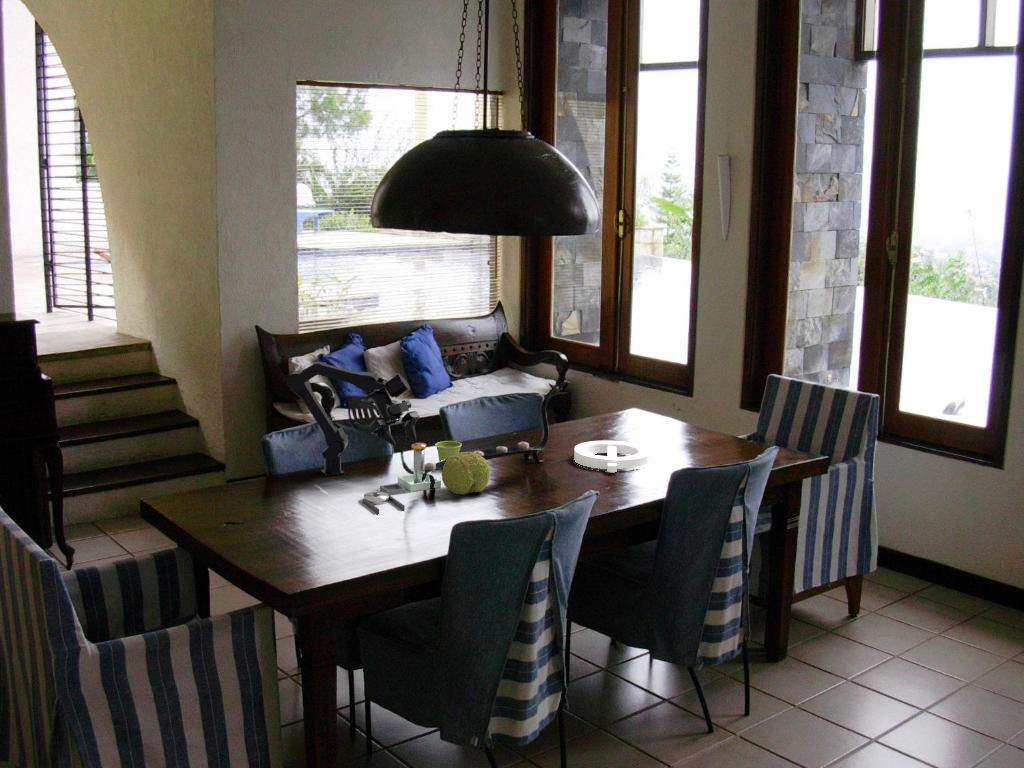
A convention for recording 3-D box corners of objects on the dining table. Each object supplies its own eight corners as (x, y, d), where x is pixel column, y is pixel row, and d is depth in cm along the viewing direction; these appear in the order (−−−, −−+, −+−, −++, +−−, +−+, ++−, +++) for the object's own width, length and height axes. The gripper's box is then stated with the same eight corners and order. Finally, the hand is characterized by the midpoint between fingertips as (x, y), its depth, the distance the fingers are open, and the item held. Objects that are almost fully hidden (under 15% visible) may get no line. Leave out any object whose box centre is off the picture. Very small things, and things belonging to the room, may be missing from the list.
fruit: (472, 503, 364) (450, 462, 362) (447, 508, 375) (426, 469, 373) (505, 478, 374) (484, 439, 372) (480, 484, 385) (459, 446, 384)
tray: (397, 484, 382) (397, 476, 382) (427, 481, 388) (427, 472, 387) (410, 493, 373) (410, 484, 372) (440, 489, 378) (440, 480, 378)
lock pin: (409, 483, 381) (409, 443, 378) (422, 482, 383) (422, 442, 381) (415, 487, 377) (415, 446, 374) (428, 485, 379) (428, 445, 377)
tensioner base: (374, 490, 375) (374, 485, 375) (399, 487, 380) (399, 482, 379) (385, 497, 368) (385, 492, 367) (410, 494, 372) (410, 489, 372)
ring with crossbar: (611, 448, 438) (612, 437, 437) (665, 464, 417) (665, 452, 416) (558, 460, 420) (558, 447, 419) (611, 477, 399) (612, 464, 398)
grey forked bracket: (358, 500, 364) (358, 491, 363) (385, 497, 368) (385, 487, 367) (376, 515, 350) (376, 505, 349) (404, 511, 354) (404, 501, 354)
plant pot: (449, 472, 399) (450, 448, 397) (429, 467, 404) (430, 444, 402) (466, 467, 406) (467, 443, 404) (446, 462, 411) (447, 439, 410)
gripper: (374, 396, 376) (395, 435, 371) (416, 388, 389) (437, 426, 384) (359, 414, 383) (379, 452, 378) (401, 405, 396) (421, 442, 391)
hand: (405, 443), depth 383 cm, fingers open, 9 cm apart
